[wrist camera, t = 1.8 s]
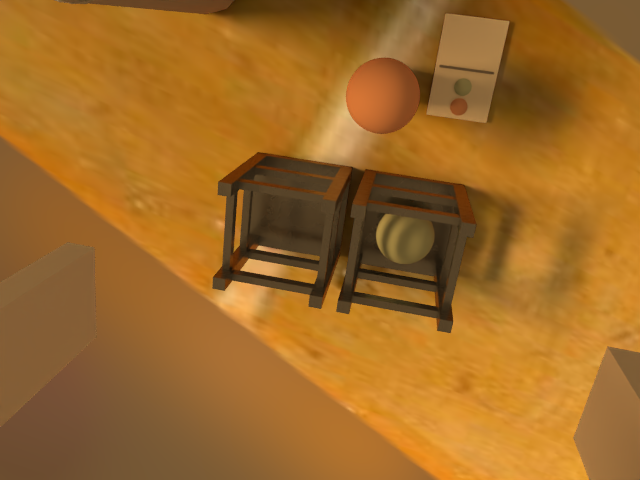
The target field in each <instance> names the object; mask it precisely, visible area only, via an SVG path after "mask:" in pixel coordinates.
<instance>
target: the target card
mask: <svg viewBox="0 0 640 480" xmlns="http://www.w3.org/2000/svg"><path fill="white" fill-rule="evenodd" d="M509 22H510V21H504V20H496V19H488V18H480V17H472V16H464V15H456V14H448V13H445V18H444V24H443V29H442V34H441V39H440V45H439V50H438V55H437V61H436V66H435V71H434V77H433V82H432V87H431V92H430V98H429V103H428V108H427V115H434V116H441V117H448V118H455V119H462V120H468V121H475V122H482V123H486V122H487V118H488V113H489V109H490V105H491V100H492V96H493V91H494V87H495V83H496V78H497V74H498V70H499V65H500V61H501V57H502V52H503V48H504V44H505V39H506V35H507V30H508V26H509Z"/></svg>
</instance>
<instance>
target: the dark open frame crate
mask: <svg viewBox="0 0 640 480" xmlns="http://www.w3.org/2000/svg"><path fill="white" fill-rule="evenodd" d="M385 214H392V215H398V216H404V217H410V218H416V219H422V220H428V221H431V222H432V225H433V228H434V243H433V246H432V248H431V250H430V251H429V253H428V254H427V255H426V256H425V257H424V258H422V259H421V260H419V261H417V262H415V263H411V264H399V263H396V262H393V261H391V260H389V259H388V258H387V257H386V256H384V255H383V253H382V252H381V251H380V249H379V247H378V244H377V240H376V230H377V226H378V224H379V222H380V220H381V218H382V217H383V216H384V215H385ZM350 217H353V218H354V224H353V230H352V237H351V243H350V250H349V257H348V263H347V270H346V275H345V279H344V282H343V285H342V289H341V292H340V295H339V299H338V304H337V310H336V312H341V313H346V314H349V312H350V308H351V304H352V303H357V304H362V305H368V306H373V307H379V308H384V309H389V310H395V311H400V312H405V313H411V314H416V315H422V316H427V317H432V318H436V319H437V331H442V332H447V333H451V329H452V325H453V315H452V307H451V303H452V298H453V294H454V290H455V286H456V281H457V277H458V273H459V268H460V264H461V260H462V256H463V251H464V247H465V243H466V239H467V237H471V238H473V237H474V233H475V229H476V221H475V218H474V215H473V212H472V208H471V205H470V202H469V199H468V195H467V192H466V189H465V186H464V185H462V184H455V183H449V182H443V181H436V180H430V179H424V178H418V177H411V176H405V175H399V174H392V173H386V172H380V171H373V170H367V169H366V170H365V172H364V175H363V178H362V180H361V183H360V185H359V188H358V191H357V193H356V196H355V198H354V201H353V204H352V210H351V216H350ZM361 263H362V264H367V265H373V266H379V267H384V268H390V269H395V270H401V271H407V272H412V273H418V274H424V275H429V276H434V281H428V280H423V279H417V278H412V277H406V276H400V275H395V274H389V273H383V272H378V271H372V270H367V269H361V268H360V267H361ZM358 278H361V279H366V280H372V281H377V282H383V283H388V284H394V285H399V286H405V287H410V288H416V289H422V290H427V291H433V292H435V303H436V306H430V305H425V304H419V303H414V302H408V301H403V300H397V299H392V298H387V297H381V296H376V295H370V294H365V293H359V292H355V288H356V284H357V279H358Z"/></svg>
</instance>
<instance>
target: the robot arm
mask: <svg viewBox="0 0 640 480" xmlns="http://www.w3.org/2000/svg"><path fill="white" fill-rule="evenodd" d="M94 250H95V249H94V247H89V246H84V245H79V244H73V243H66V244H64V245H62V246H61V247H59V248H57V249H55V250H54V251H52V252H50V253H49V254H47V255H45V256H44V257H42V258H40V259H39V260H37V261H35V262H34V263H32V264H30V265H28V266H27V267H25V268H23V269H22V270H20V271H19V272H17V273H15V274H13V275H12V276H10V277H8V278H7V279H5V280H3V281H2V282H0V427H1V426H2V425H3V424H4V423H5V422H6V421H7V420H9V419H10V417H12V416H13V415H14V414H15V413H16V412H17V411H18V410H19V409H20V408H21V407H22V406H23V405H24V404H26V403H27V402H28V401H29V400H30V399H31V398H32V397H33V396H34V395H35V394H36V393H37V392H38V391H39V390H41V389H42V388H43V387H44V386H45V385H46V384H47V383H48V382H49V381H50V380H51V379H52V378H53V377H54V376H55V375H56V374H57V373H59V372H60V371H61V370H62V369H63V368H64V367H65V366H66V365H67V364H68V363H69V362H70V361H71V360H72V359H74V358H75V357H76V356H77V355H78V354H79V353H80V352H81V351H82V350H83V349H84V348H85V347H86V346H87V345H88V344H89V343H91V342H92V341H93V340H94V339H95V338H96V299H95V298H96V296H95V251H94ZM574 441H575V443H576V446H577V449H578V451H579V454H580V456H581V459H582V462H583V464H584V467H585V469H586V472H587V475H588V477H589V480H640V353H638V352H633V351H628V350H623V349H618V348H612V347H607V349H606V352H605V354H604V357H603V360H602V362H601V365H600V368H599V370H598V373H597V376H596V379H595V381H594V384H593V387H592V389H591V392H590V395H589V397H588V400H587V403H586V405H585V408H584V411H583V413H582V416H581V419H580V421H579V424H578V427H577V430H576V432H575V435H574Z"/></svg>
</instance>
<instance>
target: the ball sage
mask: <svg viewBox="0 0 640 480" xmlns="http://www.w3.org/2000/svg"><path fill="white" fill-rule="evenodd" d="M376 240H377V244H378V247H379V249H380V251H381V252H382V253H383V255H384V256H386V257H387V258H388V259H389V260H391V261H393V262H396V263H399V264H411V263H415V262H417V261H419V260H421V259H422V258H424V257H425V256H426V255H427V254H428V253H429V251H430V250H431V248H432V246H433V243H434V228H433V225H432V222H431V221H428V220H422V219H416V218H410V217H404V216H398V215H392V214H385V215H384V216H383V217H382V218H381V220H380V222H379V224H378V226H377V230H376Z"/></svg>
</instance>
